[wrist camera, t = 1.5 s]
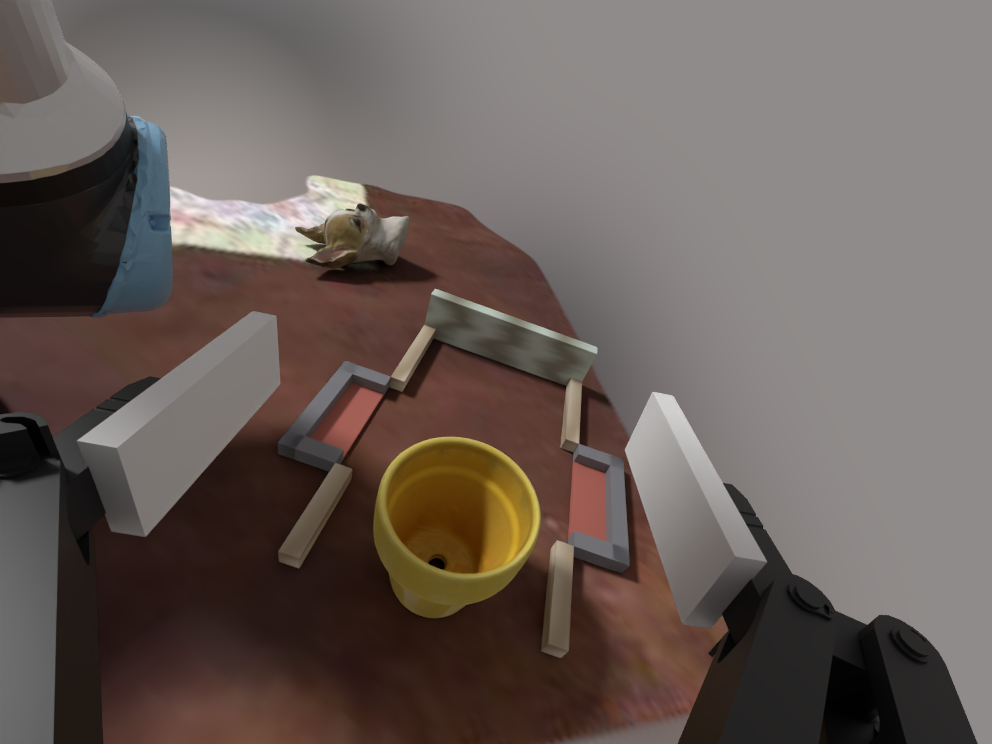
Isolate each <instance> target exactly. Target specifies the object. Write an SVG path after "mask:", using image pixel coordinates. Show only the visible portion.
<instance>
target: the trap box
mask: <svg viewBox="0 0 992 744" xmlns="http://www.w3.org/2000/svg"><path fill="white" fill-rule="evenodd" d="M433 338H434V339H437V340H439V341H442V342H445V343H448V344H451V345H453V346H456V347H459V348H462V349H464V350H467V351H470V352H473V353H476V354H478V355H481V356H484V357H487V358H490V359H492V360H495V361H498V362H501V363H504V364H506V365H509V366H512V367H515V368H517V369H520V370H523V371H526V372H529V373H531V374H534V375H537V376H540V377H543V378H545V379H548V380H551V381H554V382H557V383H559V384H562V385H565V386H566V395H565V405H564V416H563V426H562V437H561V447H560V448H562V449H565V450H567V451H570V452H573V453H574V451H575V449H576V448H577V446H578V445H579V433H580V413H581V393H582V381H583V379H584V377H585V375H586V373H587V372H588V370H589V368H590V366H591V364H592V363H593V361H594V359H595V357H596V355H597V347H595V346H592V345H589V344H587V343H584V342H581V341H578V340H576V339H573V338H570V337H567V336H564V335H562V334H559V333H556V332H553V331H551V330H548V329H545V328H542V327H540V326H537V325H534V324H531V323H528V322H526V321H523V320H520V319H517V318H515V317H512V316H509V315H506V314H504V313H501V312H498V311H495V310H492V309H490V308H487V307H484V306H481V305H479V304H476V303H473V302H470V301H468V300H465V299H462V298H459V297H457V296H454V295H451V294H448V293H445V292H443V291H440V290H437V289H435V290H434V291H433V292H432V294H431V298H430V302H429V307H428V311H427V316H426V320H425V325H424V326H423V328H422V329H421V331H420V333H419V334H418V336H417V337H416V339H415V340H414V342H413V343H412V345H411V347H410V348H409V350H408V351H407V353H406V354H405V356H404V357H403V359H402V360H401V362H400V364H399V365H398V367H397V368H396V370H395V371H394V373H393V374H392V376H391V379H390V384H389V387H390V388H393V389H395V390H398V391H401V392H403V390H404V388H405V386H406V385H407V383H408V381H409V380H410V378H411V376H412V374H413V373H414V371H415V369H416V368H417V366H418V364H419V362H420V361H421V359H422V357H423V356H424V354H425V352H426V350H427V349H428V347H429V345H430V344H431V342H432V340H433ZM352 470H353V469H352V468H349V467H346V466H343V465H340V464H337V463H335V464H334V466H333V467H332V469H331V470H330V472H329V473H328V475H327V477H326V478H325V480H324V481H323V483H322V484H321V486H320V487H319V489H318V490H317V492H316V494H315V495H314V497H313V498H312V500H311V501H310V503H309V504H308V506H307V507H306V509H305V511H304V512H303V514H302V515H301V517H300V518H299V520H298V521H297V523H296V524H295V526H294V528H293V529H292V531H291V532H290V534H289V535H288V537H287V538H286V540H285V542H284V543H283V545H282V546H281V548H280V549H279V551H278V557H279V562H281V563H284V564H287V565H290V566H293V567H296V568H300V567H301V565H302V563H303V561H304V560H305V558H306V556H307V555H308V553H309V551H310V549H311V548H312V546H313V544H314V543H315V541H316V539H317V537H318V536H319V534H320V532H321V531H322V529H323V527H324V525H325V524H326V522H327V520H328V519H329V517H330V515H331V513H332V512H333V510H334V508H335V507H336V505H337V503H338V501H339V500H340V498H341V496H342V495H343V493H344V491H345V489H346V488H347V486H348V484H349V483H350V481H351V477H352ZM573 555H574V546H572V545H569V544H566V543H564V542H561V541H558V540H557V541H556V542H555V544H554V545H553V547H552V548H551V551H550V562H549V572H548V582H547V593H546V603H545V614H544V624H543V634H542V645H541V652H544V653H547V654H550V655H553V656H556V657H559V658H561V657H563V656H564V655H565V654H566V653H567V652H568V651H569V637H570V616H571V596H572V576H573Z"/></svg>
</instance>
